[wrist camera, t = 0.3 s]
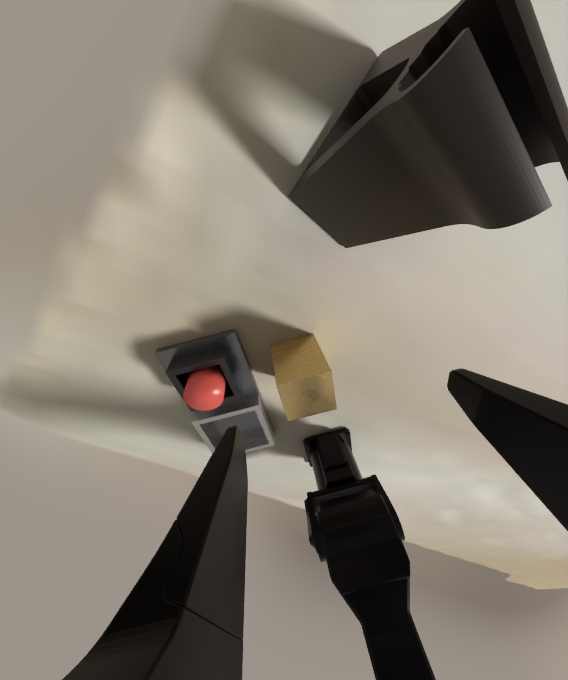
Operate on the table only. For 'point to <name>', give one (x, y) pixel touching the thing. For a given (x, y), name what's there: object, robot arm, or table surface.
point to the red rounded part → (205, 388)
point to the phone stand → (444, 131)
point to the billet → (303, 377)
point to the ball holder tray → (239, 394)
